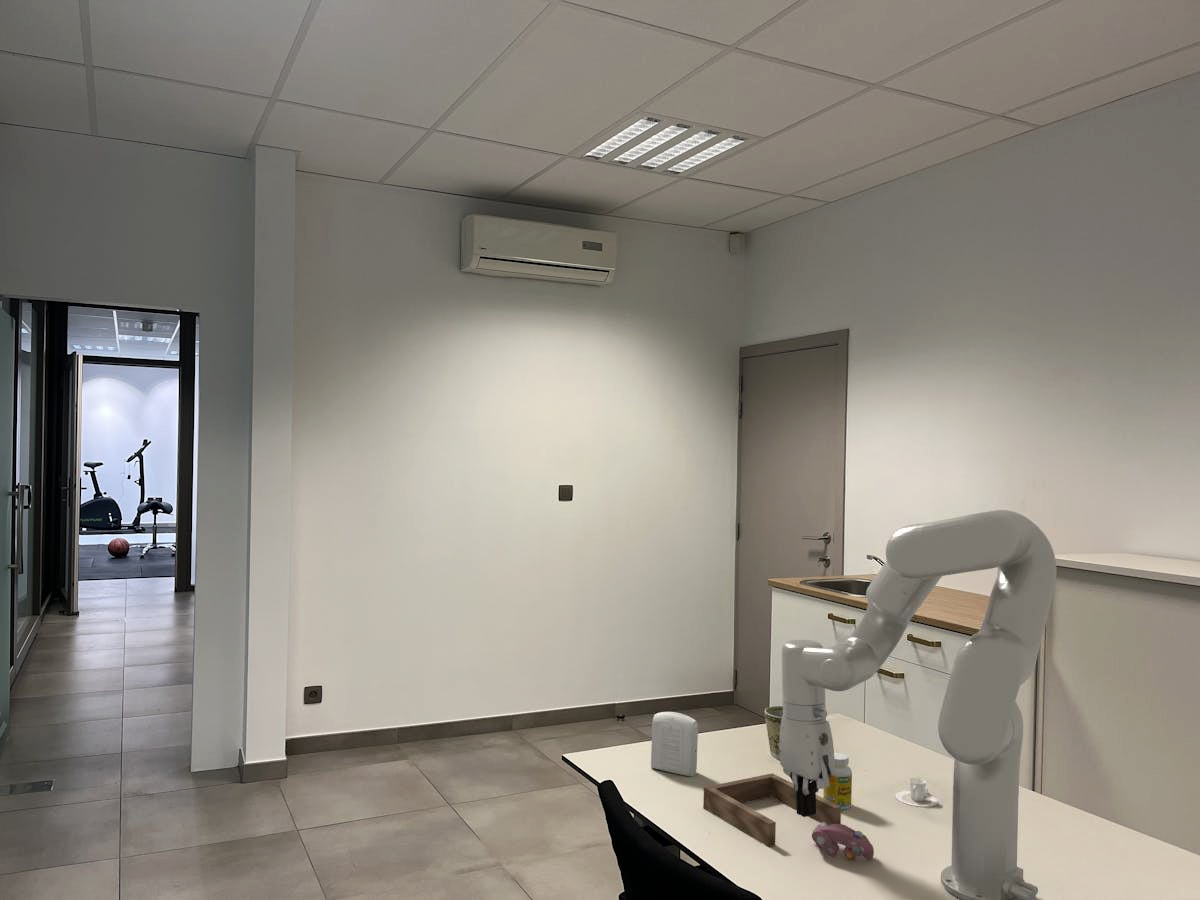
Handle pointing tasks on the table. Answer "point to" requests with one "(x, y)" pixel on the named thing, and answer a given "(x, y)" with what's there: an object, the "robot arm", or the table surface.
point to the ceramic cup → (774, 728)
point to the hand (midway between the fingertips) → (806, 813)
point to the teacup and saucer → (917, 793)
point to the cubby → (732, 794)
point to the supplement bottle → (840, 783)
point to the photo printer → (674, 743)
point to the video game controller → (842, 841)
